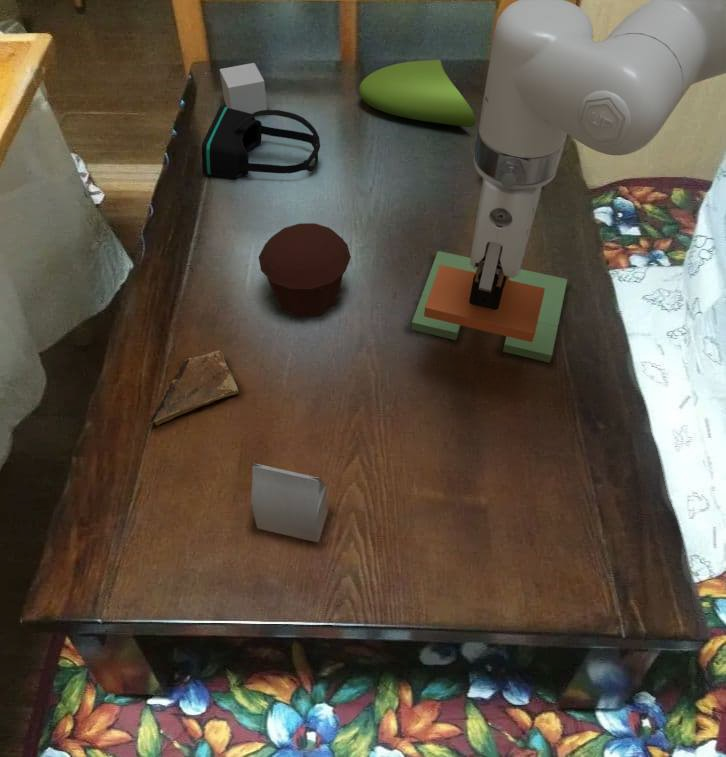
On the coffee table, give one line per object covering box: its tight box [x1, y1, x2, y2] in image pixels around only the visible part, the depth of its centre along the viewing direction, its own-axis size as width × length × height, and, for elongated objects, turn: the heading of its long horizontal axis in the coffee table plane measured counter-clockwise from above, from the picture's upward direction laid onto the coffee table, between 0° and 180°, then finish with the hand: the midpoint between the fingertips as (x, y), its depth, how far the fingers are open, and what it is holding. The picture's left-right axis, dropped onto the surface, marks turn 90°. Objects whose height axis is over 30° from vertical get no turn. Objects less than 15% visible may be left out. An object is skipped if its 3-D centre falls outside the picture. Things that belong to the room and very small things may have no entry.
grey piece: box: [250, 463, 329, 543], centre depth 74 cm, size 4×7×10 cm, turn 76°
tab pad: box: [424, 265, 545, 342], centre depth 80 cm, size 12×11×8 cm
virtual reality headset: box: [201, 105, 321, 179], centre depth 113 cm, size 11×17×10 cm, turn 81°
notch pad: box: [410, 250, 568, 364], centre depth 97 cm, size 18×14×2 cm
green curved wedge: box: [358, 59, 476, 128], centre depth 122 cm, size 8×12×20 cm
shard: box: [149, 350, 240, 426], centre depth 88 cm, size 11×8×2 cm
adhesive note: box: [219, 62, 268, 114], centre depth 123 cm, size 6×6×6 cm
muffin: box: [258, 222, 352, 319], centre depth 95 cm, size 12×11×10 cm
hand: (487, 293), depth 80 cm, fingers closed on tab pad, 2 cm apart
